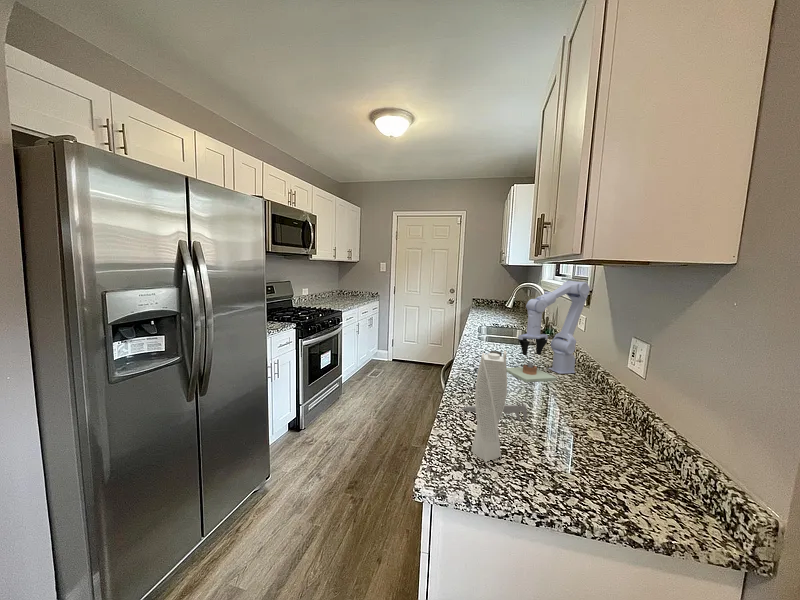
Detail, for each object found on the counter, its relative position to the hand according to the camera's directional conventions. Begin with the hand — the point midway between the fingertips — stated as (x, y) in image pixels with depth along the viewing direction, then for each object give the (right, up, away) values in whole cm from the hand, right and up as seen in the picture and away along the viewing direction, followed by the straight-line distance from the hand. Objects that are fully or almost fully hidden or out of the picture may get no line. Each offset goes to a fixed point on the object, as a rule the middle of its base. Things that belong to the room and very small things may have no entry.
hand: (531, 354), depth 154 cm
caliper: (-30, -13, -44) cm, 55 cm away
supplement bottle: (-20, -10, -8) cm, 23 cm away
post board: (-1, -9, -1) cm, 9 cm away
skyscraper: (-38, -15, -68) cm, 79 cm away
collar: (-1, -8, -1) cm, 8 cm away
